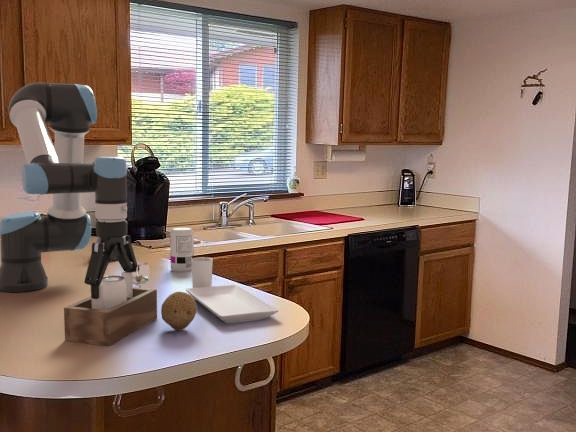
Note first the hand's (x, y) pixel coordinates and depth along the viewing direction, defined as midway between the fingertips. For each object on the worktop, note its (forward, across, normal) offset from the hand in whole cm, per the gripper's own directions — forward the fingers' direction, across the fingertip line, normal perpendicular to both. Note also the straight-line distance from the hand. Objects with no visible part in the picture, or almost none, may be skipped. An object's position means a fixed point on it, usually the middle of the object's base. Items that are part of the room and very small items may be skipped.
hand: (113, 303), depth 157 cm
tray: (+7, +27, -21) cm, 35 cm away
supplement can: (+7, +68, +14) cm, 70 cm away
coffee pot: (+7, +79, +53) cm, 95 cm away
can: (+6, 0, 0) cm, 6 cm away
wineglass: (+7, +22, +5) cm, 23 cm away
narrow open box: (+7, 0, 0) cm, 7 cm away
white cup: (+7, +43, -5) cm, 44 cm away
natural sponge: (+7, +4, -16) cm, 18 cm away
